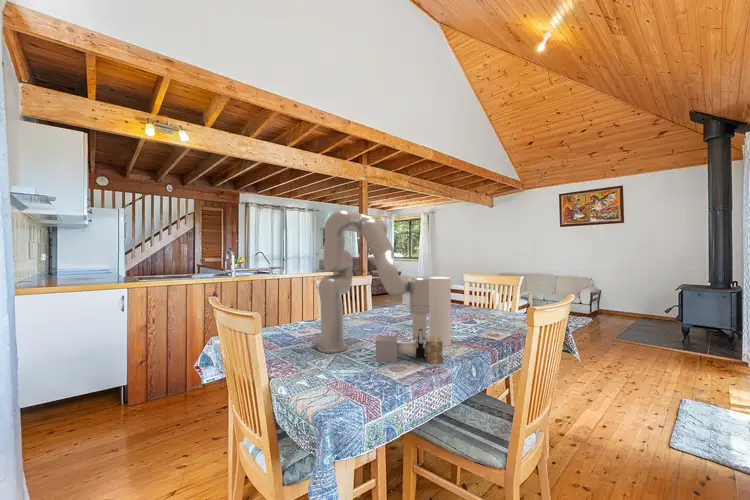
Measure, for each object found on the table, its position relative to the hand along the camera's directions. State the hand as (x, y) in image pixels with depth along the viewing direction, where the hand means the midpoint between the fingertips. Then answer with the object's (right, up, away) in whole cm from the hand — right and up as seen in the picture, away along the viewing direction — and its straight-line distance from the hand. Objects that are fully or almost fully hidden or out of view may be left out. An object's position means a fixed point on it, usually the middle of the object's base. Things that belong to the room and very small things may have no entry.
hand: (420, 355), depth 126 cm
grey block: (-13, -2, +1) cm, 13 cm away
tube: (-2, 0, 0) cm, 3 cm away
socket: (+5, -2, 0) cm, 6 cm away
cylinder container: (+12, -1, +20) cm, 23 cm away
